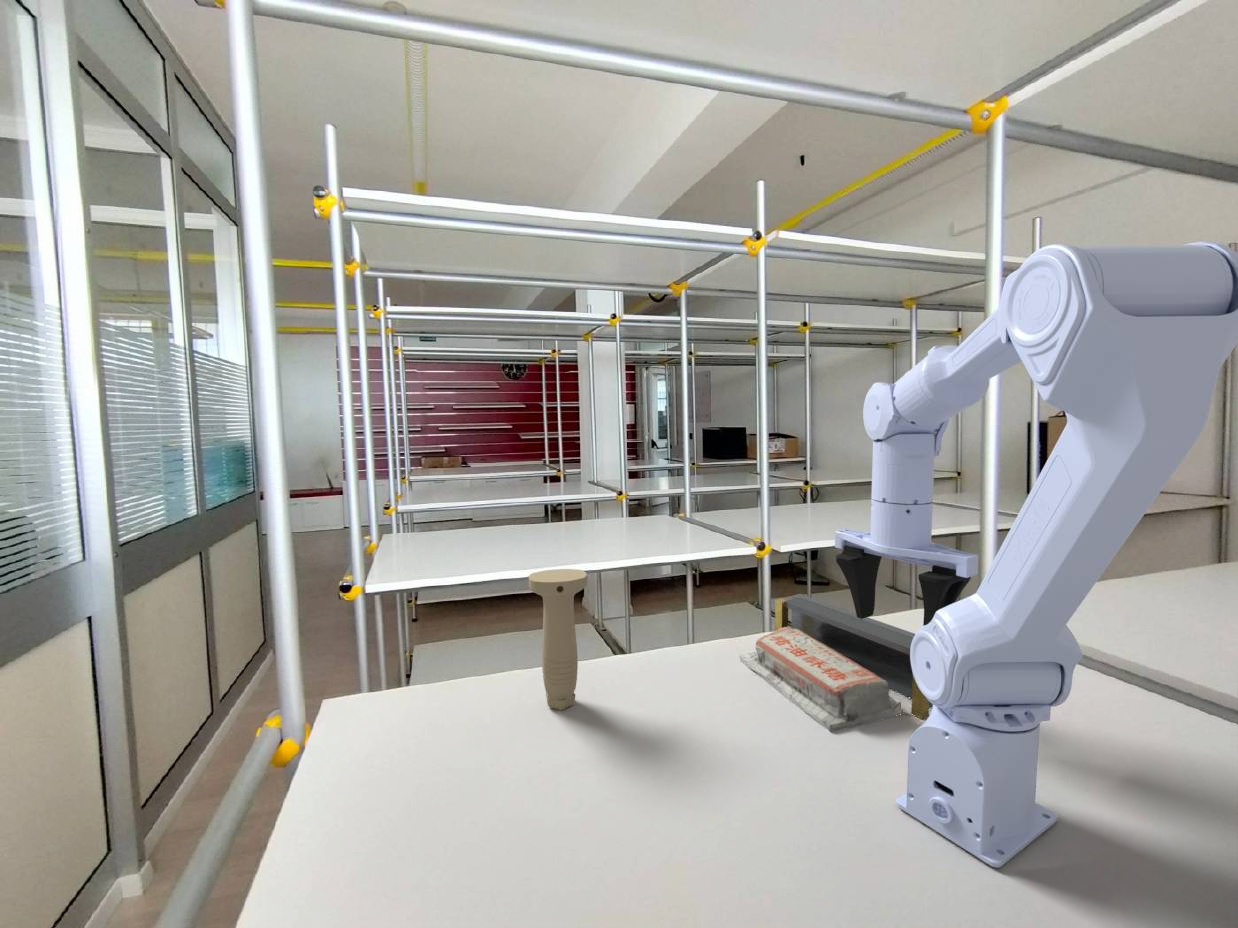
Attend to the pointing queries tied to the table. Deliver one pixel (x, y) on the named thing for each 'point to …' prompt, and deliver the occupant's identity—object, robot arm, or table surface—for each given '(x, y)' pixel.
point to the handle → (559, 632)
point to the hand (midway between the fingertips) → (897, 627)
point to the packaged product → (821, 680)
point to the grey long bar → (858, 642)
